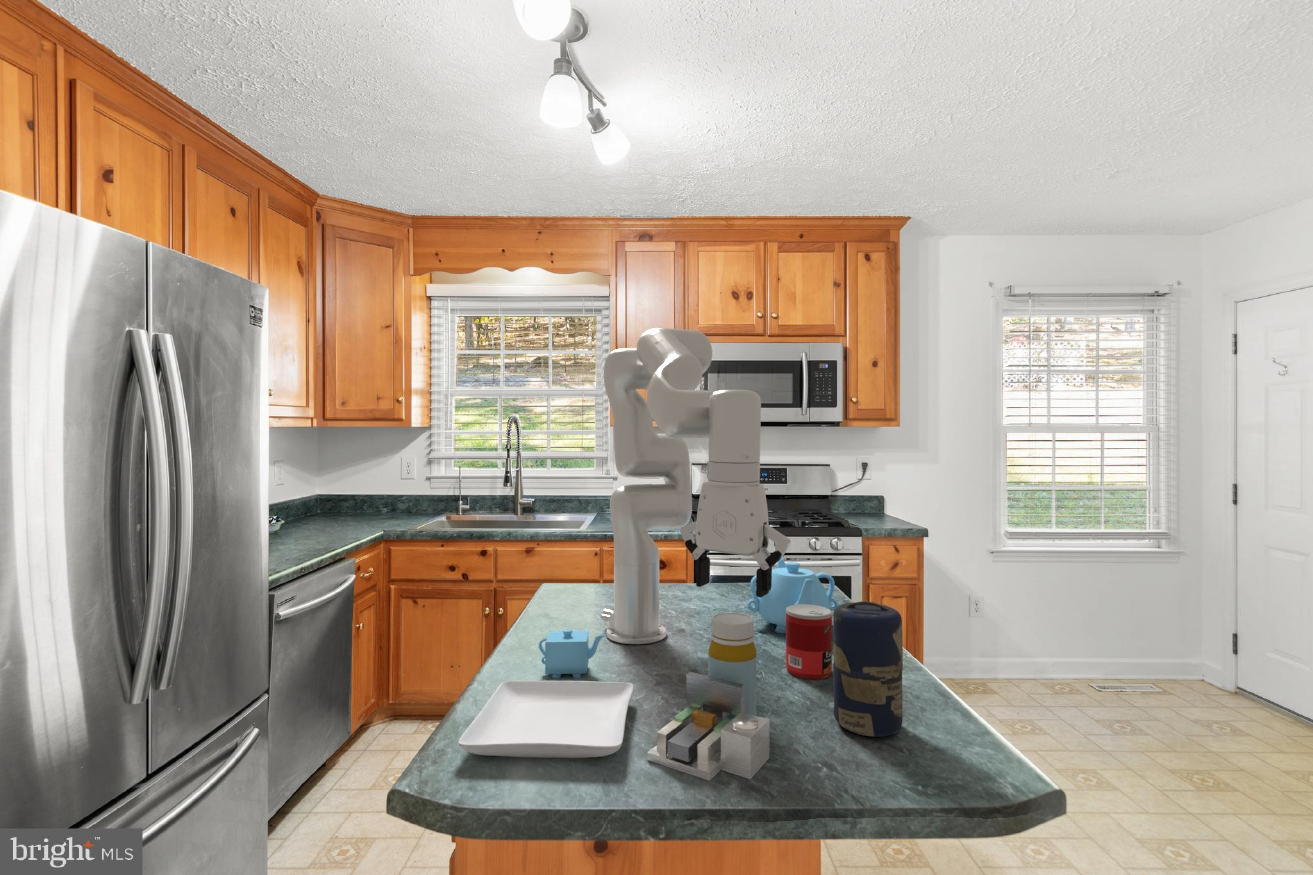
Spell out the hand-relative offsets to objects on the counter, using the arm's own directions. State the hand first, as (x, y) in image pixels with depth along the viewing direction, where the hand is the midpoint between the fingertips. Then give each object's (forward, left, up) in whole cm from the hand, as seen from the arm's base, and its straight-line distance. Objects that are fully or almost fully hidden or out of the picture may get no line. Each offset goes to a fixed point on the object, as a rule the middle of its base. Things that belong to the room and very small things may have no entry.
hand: (731, 589), depth 91 cm
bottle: (0, 0, -19) cm, 19 cm away
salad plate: (-20, -16, -20) cm, 32 cm away
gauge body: (+2, -11, -19) cm, 22 cm away
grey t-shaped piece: (0, -11, -18) cm, 21 cm away
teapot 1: (-32, +1, -19) cm, 37 cm away
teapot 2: (-8, +49, -19) cm, 53 cm away
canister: (+17, +8, -19) cm, 27 cm away
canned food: (+3, +24, -19) cm, 31 cm away
